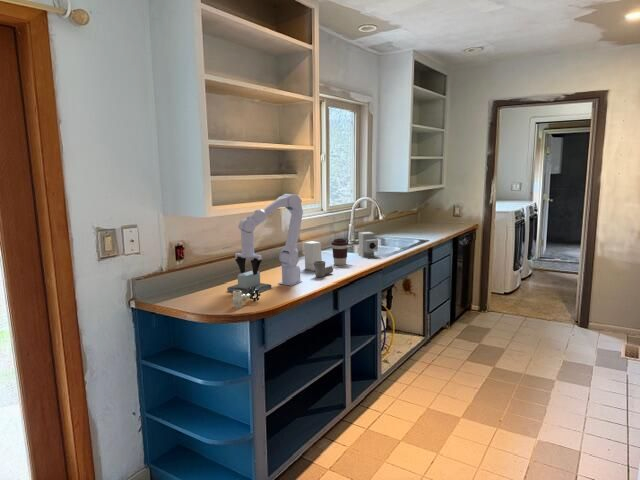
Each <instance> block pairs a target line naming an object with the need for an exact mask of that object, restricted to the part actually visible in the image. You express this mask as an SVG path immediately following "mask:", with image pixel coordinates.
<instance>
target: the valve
mask: <svg viewBox="0 0 640 480" xmlns="http://www.w3.org/2000/svg"><path fill="white" fill-rule="evenodd" d="M252 288H253V289H252ZM255 288H256V287H255V286H254V287H251V288H249V290H251V291H249V292H248V294H242V291H240V290H236V291H233V292H232V302H233V303H232V304H233V308H235V309H240V308H242V307H243V302H244V301H246V300H247V299H249V300H252V301H253V302H258V301H259V300H260V296H261V293H258V291H259V289H255ZM253 290H254V291H255V292H252V291H253Z"/></svg>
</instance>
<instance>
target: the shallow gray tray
mask: <svg viewBox="0 0 640 480" xmlns="http://www.w3.org/2000/svg"><path fill="white" fill-rule="evenodd" d="M253 287H254V286H253ZM255 287H256V288H255V289H259V291H258V293H259V294H261V293H262V292H263V293H264V292H265V291H268V290H270V289H272V284H271V283H270V284H269V283H261V282H260V284H259V285H256V286H255ZM250 288H251V287H250ZM252 289H253V288H252ZM236 290H240V291H242V294H245V295H246V294H248V292H249V291H251V290H249V288H247V289H244V288H238V283H237V284H234V285H231V286H228V287H227V292H228V293H229V292H230V293H233V291H236ZM252 292H255V291H254V290H253V291H252Z"/></svg>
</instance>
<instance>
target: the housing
mask: <svg viewBox="0 0 640 480" xmlns="http://www.w3.org/2000/svg"><path fill="white" fill-rule="evenodd" d="M260 283H261V271H258V273H257V274H256V275H253V270H250V271H245V272H244V273H239V274H237V284H238V288H244V289H247V288H250V287H253V286H256V285H259V284H260Z"/></svg>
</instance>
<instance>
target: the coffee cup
mask: <svg viewBox="0 0 640 480" xmlns="http://www.w3.org/2000/svg"><path fill="white" fill-rule="evenodd" d="M331 245H332V258H333V264H334V265H335V266H345V265H347V257H348V245H349V241H347V239H345V238H334V239H333V241H331Z"/></svg>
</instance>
